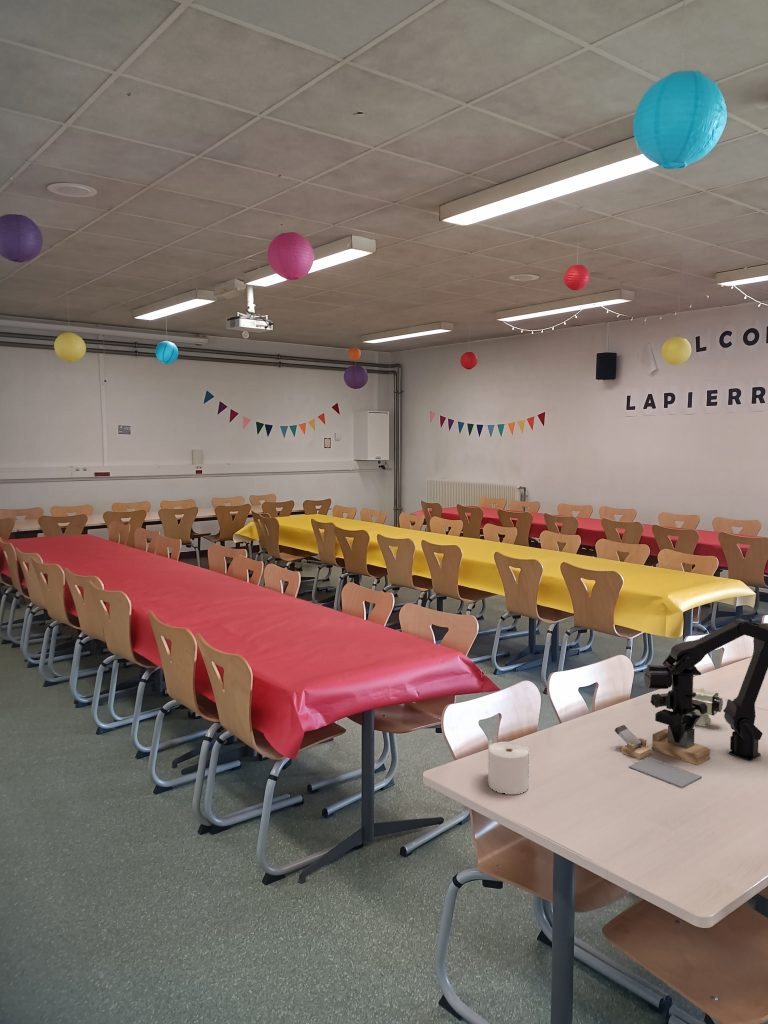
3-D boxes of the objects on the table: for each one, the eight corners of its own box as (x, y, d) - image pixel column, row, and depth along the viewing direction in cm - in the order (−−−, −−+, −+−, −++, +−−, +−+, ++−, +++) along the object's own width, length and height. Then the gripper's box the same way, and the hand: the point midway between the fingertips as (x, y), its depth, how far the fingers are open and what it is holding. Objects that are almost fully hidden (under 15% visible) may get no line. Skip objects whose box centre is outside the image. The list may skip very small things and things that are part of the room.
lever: (642, 743, 212) (624, 724, 217) (635, 747, 209) (616, 727, 214) (641, 746, 212) (622, 727, 217) (633, 749, 210) (614, 730, 215)
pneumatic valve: (684, 718, 239) (685, 683, 238) (722, 726, 232) (723, 690, 231) (679, 723, 235) (680, 687, 234) (717, 732, 228) (718, 695, 227)
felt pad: (701, 777, 196) (701, 776, 196) (682, 788, 190) (682, 786, 190) (648, 758, 208) (648, 756, 208) (628, 767, 202) (628, 766, 202)
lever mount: (652, 754, 211) (652, 742, 211) (639, 760, 207) (639, 748, 207) (634, 747, 216) (634, 735, 216) (620, 753, 212) (621, 741, 212)
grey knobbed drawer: (694, 745, 210) (694, 726, 209) (686, 748, 207) (687, 730, 207) (674, 739, 215) (675, 720, 214) (667, 742, 212) (668, 723, 212)
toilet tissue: (521, 798, 184) (521, 761, 184) (477, 788, 190) (477, 751, 189) (534, 782, 194) (534, 746, 193) (492, 772, 200) (492, 737, 199)
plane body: (709, 758, 208) (710, 743, 208) (696, 765, 204) (697, 749, 203) (665, 743, 219) (665, 728, 219) (652, 749, 215) (652, 734, 214)
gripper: (674, 675, 222) (672, 725, 223) (639, 688, 210) (638, 739, 212) (709, 684, 213) (707, 736, 214) (674, 698, 202) (673, 752, 203)
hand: (680, 740), depth 211 cm, fingers closed on grey knobbed drawer, 4 cm apart
